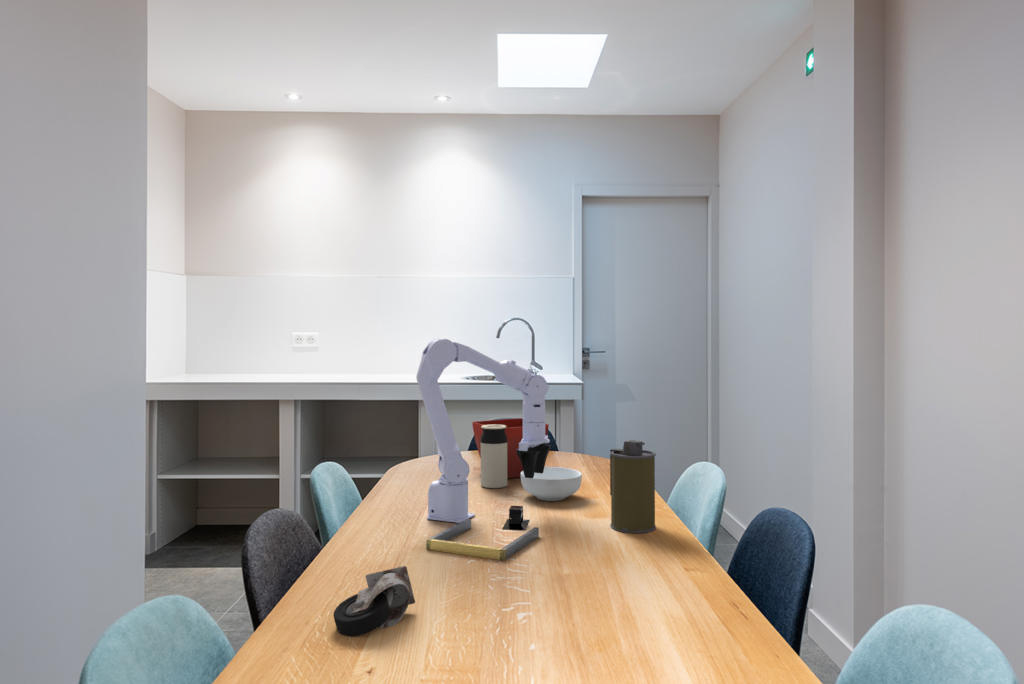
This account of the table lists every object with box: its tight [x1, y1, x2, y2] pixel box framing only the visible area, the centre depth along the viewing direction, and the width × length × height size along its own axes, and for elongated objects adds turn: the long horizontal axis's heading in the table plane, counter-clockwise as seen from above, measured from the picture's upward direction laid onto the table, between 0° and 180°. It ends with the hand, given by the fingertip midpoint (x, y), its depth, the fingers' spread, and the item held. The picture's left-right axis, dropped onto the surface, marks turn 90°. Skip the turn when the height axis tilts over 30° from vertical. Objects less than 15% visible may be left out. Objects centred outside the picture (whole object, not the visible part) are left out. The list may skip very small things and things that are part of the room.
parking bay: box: [425, 518, 540, 562], centre depth 146 cm, size 18×18×2 cm
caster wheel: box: [332, 565, 416, 637], centre depth 104 cm, size 7×11×10 cm
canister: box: [609, 439, 657, 534], centre depth 158 cm, size 11×10×20 cm
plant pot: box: [471, 417, 549, 480], centre depth 220 cm, size 19×19×17 cm
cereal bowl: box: [520, 466, 583, 502], centre depth 188 cm, size 17×17×7 cm
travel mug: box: [480, 424, 508, 489], centre depth 203 cm, size 8×8×18 cm
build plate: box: [501, 505, 531, 531], centre depth 161 cm, size 12×7×5 cm, turn 173°
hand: (534, 475), depth 171 cm, fingers open, 6 cm apart
